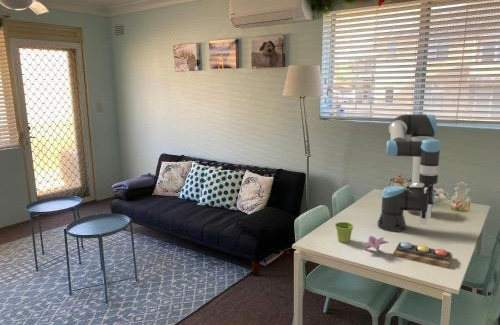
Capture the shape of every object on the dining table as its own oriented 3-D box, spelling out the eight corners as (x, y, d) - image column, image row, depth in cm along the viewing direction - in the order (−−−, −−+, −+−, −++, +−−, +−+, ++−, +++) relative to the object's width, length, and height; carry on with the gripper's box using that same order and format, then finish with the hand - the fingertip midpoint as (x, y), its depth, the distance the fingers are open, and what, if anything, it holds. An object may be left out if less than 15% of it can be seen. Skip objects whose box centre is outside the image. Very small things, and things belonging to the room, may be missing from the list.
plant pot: (342, 245, 189) (343, 229, 187) (330, 239, 197) (331, 224, 196) (356, 242, 193) (357, 226, 192) (344, 236, 202) (344, 220, 200)
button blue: (399, 247, 178) (399, 244, 178) (401, 244, 182) (402, 241, 182) (410, 250, 175) (410, 247, 175) (412, 246, 179) (413, 243, 179)
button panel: (393, 255, 177) (393, 249, 176) (399, 246, 186) (399, 240, 186) (448, 268, 164) (449, 260, 163) (452, 257, 173) (452, 250, 173)
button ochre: (416, 251, 174) (416, 248, 173) (418, 247, 178) (418, 244, 178) (427, 253, 171) (428, 250, 171) (429, 249, 175) (430, 246, 175)
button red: (433, 254, 170) (434, 251, 169) (435, 250, 174) (435, 247, 173) (446, 257, 167) (446, 254, 167) (447, 253, 171) (448, 250, 171)
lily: (392, 254, 180) (387, 234, 183) (388, 254, 170) (383, 233, 173) (367, 258, 186) (363, 238, 188) (362, 258, 176) (357, 237, 178)
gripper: (433, 180, 156) (430, 230, 160) (441, 170, 174) (438, 215, 179) (414, 178, 160) (411, 227, 164) (424, 168, 178) (421, 212, 183)
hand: (425, 220), depth 172 cm, fingers open, 10 cm apart
